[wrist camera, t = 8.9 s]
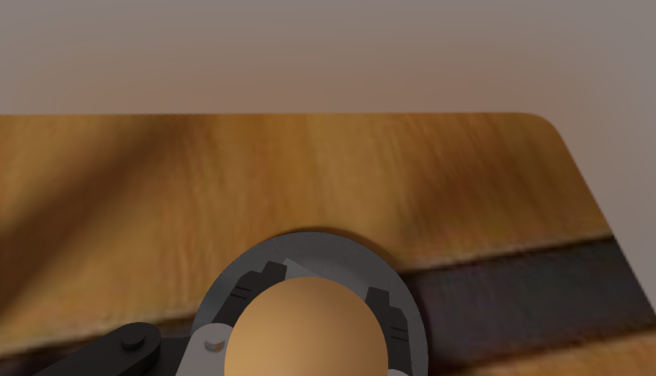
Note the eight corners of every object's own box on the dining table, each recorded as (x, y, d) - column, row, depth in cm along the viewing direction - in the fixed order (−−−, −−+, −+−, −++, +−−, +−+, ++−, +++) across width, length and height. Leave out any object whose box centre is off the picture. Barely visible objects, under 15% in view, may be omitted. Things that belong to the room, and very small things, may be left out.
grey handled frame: (138, 401, 23) (104, 413, 19) (272, 199, 29) (267, 178, 25) (458, 624, 19) (492, 690, 16) (535, 341, 25) (573, 341, 21)
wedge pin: (260, 367, 16) (189, 397, 7) (297, 301, 17) (280, 250, 8) (323, 407, 15) (341, 499, 6) (357, 337, 16) (413, 325, 7)
